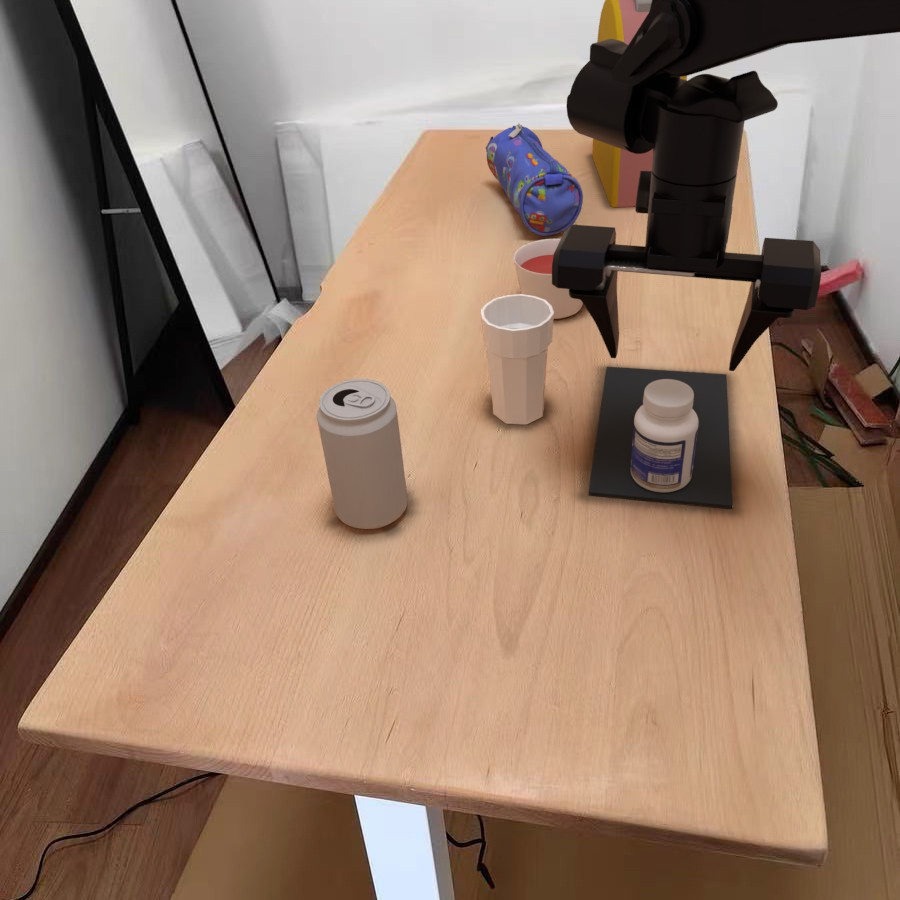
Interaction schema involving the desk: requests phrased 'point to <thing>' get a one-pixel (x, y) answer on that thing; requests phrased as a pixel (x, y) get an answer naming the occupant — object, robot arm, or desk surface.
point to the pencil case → (534, 181)
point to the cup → (517, 355)
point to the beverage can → (363, 453)
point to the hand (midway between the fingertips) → (671, 361)
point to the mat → (617, 437)
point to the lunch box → (613, 164)
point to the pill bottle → (664, 437)
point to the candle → (543, 277)
